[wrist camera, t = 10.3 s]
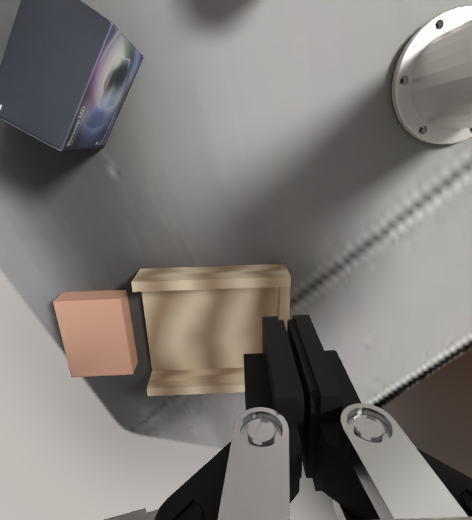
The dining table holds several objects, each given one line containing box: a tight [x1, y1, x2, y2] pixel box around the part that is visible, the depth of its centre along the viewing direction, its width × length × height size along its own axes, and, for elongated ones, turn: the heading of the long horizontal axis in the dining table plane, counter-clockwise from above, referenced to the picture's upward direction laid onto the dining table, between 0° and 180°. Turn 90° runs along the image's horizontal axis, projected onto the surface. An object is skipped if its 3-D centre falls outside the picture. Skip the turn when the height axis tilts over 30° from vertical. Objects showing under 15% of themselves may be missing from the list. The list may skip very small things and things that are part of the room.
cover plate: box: [53, 290, 138, 377], centre depth 43 cm, size 8×11×3 cm
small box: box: [0, 0, 143, 151], centre depth 29 cm, size 11×6×10 cm, turn 150°
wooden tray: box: [131, 264, 291, 396], centre depth 42 cm, size 18×16×4 cm
